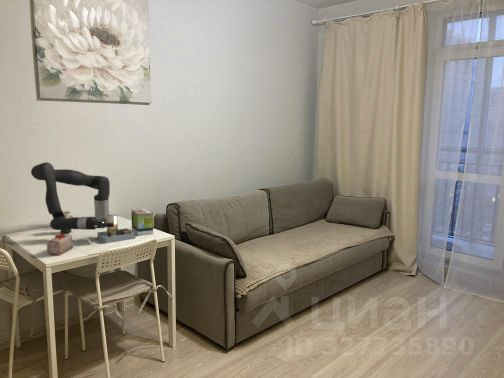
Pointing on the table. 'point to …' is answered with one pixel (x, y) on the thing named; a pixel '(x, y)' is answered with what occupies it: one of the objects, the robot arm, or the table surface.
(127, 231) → the walnut block
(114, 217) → the tin can
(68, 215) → the character mug
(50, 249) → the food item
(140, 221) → the tea box
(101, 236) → the tote
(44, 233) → the table surface
